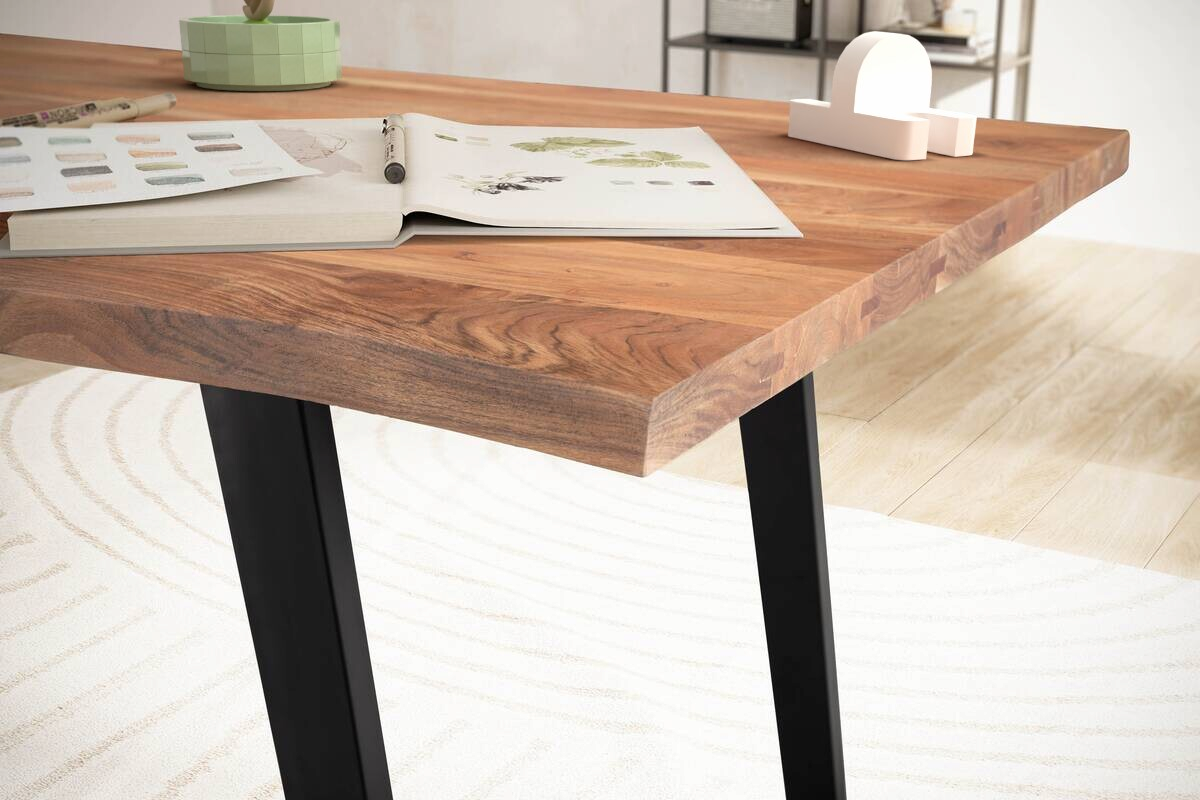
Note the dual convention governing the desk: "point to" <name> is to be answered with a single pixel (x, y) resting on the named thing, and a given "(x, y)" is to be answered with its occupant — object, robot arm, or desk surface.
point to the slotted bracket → (883, 104)
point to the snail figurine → (258, 10)
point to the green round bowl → (261, 52)
